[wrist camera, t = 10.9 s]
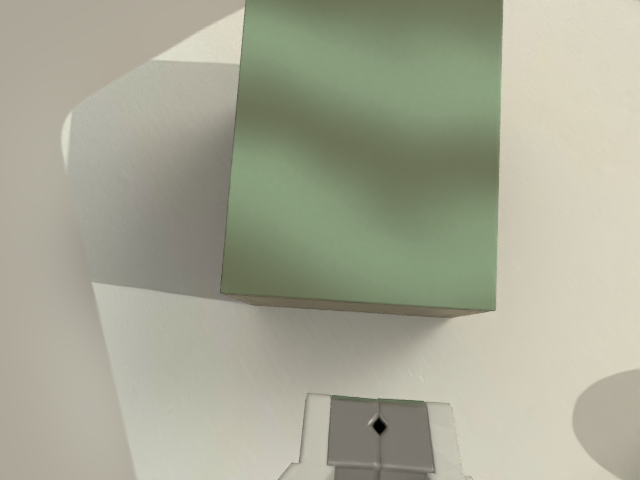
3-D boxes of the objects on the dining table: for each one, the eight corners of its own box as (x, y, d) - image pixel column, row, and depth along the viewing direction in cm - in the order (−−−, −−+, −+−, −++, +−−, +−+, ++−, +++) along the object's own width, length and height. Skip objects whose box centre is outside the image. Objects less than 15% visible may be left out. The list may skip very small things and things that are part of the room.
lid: (249, -10, 30) (246, -18, 30) (499, 1, 30) (503, -7, 29) (222, 293, 28) (219, 293, 27) (491, 311, 28) (496, 311, 27)
